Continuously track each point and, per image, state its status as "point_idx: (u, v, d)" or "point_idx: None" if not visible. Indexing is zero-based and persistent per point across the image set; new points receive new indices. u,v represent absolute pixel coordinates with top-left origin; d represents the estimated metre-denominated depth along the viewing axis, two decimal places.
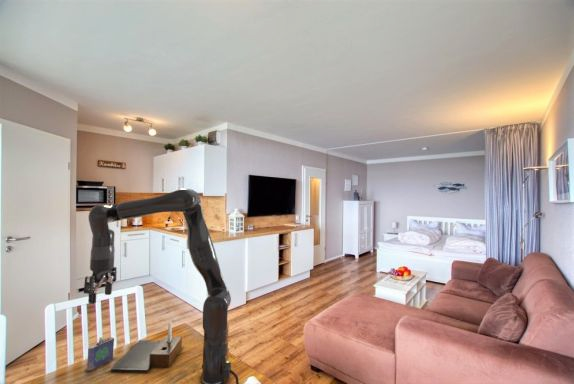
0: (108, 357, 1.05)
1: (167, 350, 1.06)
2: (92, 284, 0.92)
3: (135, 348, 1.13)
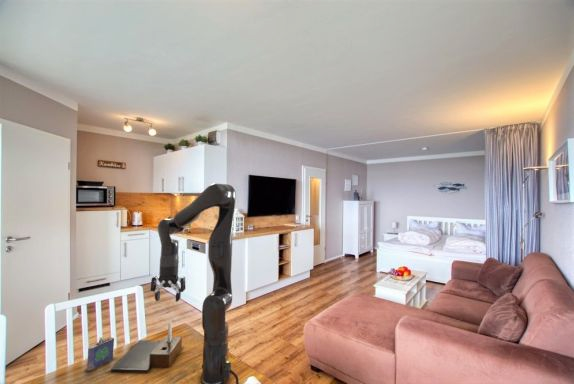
0: (108, 357, 1.05)
1: (167, 350, 1.06)
2: (152, 283, 1.11)
3: (135, 348, 1.13)
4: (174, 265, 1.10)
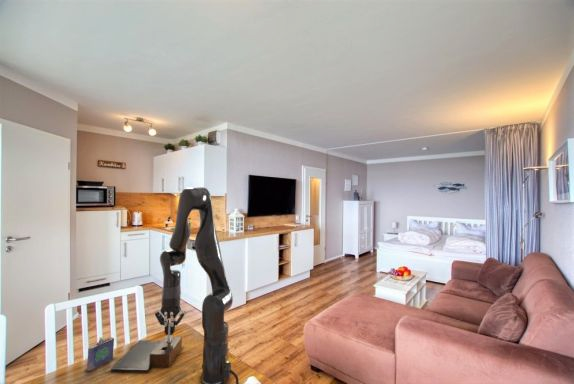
0: (108, 357, 1.05)
1: (167, 350, 1.06)
2: (158, 318, 1.11)
3: (135, 348, 1.13)
4: (176, 297, 1.11)
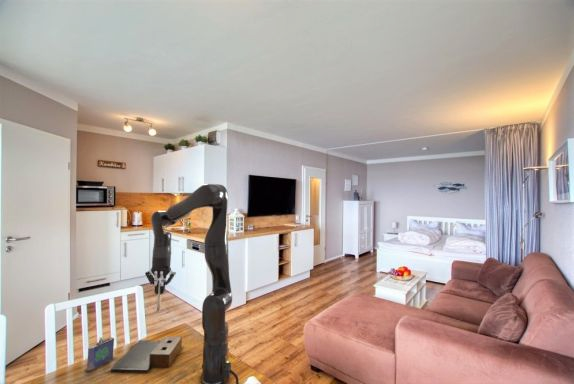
0: (108, 357, 1.05)
1: (167, 350, 1.06)
2: (148, 277, 1.13)
3: (135, 348, 1.13)
4: (167, 257, 1.13)
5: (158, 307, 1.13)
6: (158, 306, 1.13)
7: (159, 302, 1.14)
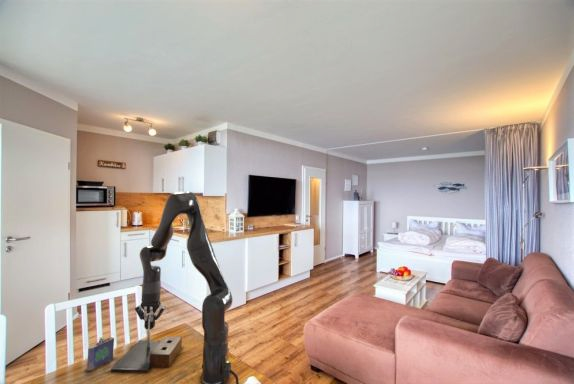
0: (108, 357, 1.05)
1: (167, 350, 1.06)
2: (138, 313, 1.13)
3: (135, 348, 1.13)
4: (156, 292, 1.13)
5: (148, 342, 1.14)
6: (148, 341, 1.14)
7: (149, 337, 1.14)
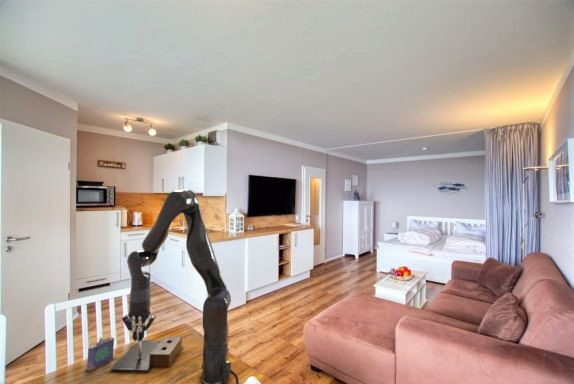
0: (108, 357, 1.05)
1: (167, 350, 1.06)
2: (126, 323, 1.04)
3: (135, 348, 1.13)
4: (145, 300, 1.04)
5: (139, 352, 1.06)
6: (139, 351, 1.06)
7: (139, 347, 1.06)
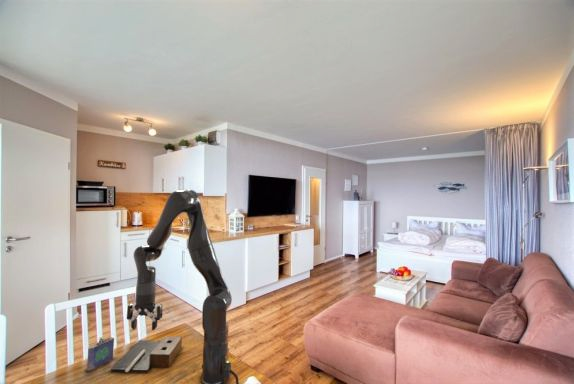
0: (108, 357, 1.05)
1: (167, 350, 1.06)
2: (128, 312, 1.09)
3: (135, 348, 1.13)
4: (151, 293, 1.08)
5: None
6: None
7: (139, 358, 1.06)
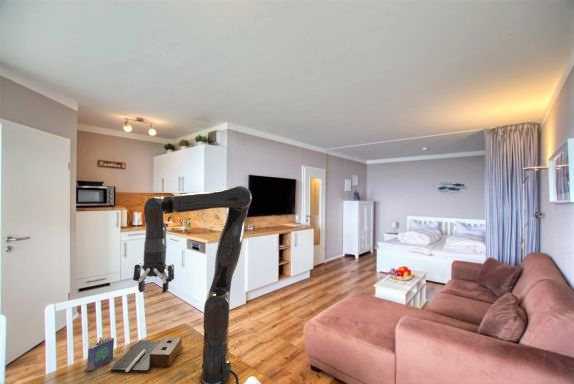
0: (108, 357, 1.05)
1: (167, 350, 1.06)
2: (135, 272, 0.95)
3: (135, 348, 1.13)
4: (161, 251, 0.95)
5: None
6: None
7: (139, 358, 1.06)
